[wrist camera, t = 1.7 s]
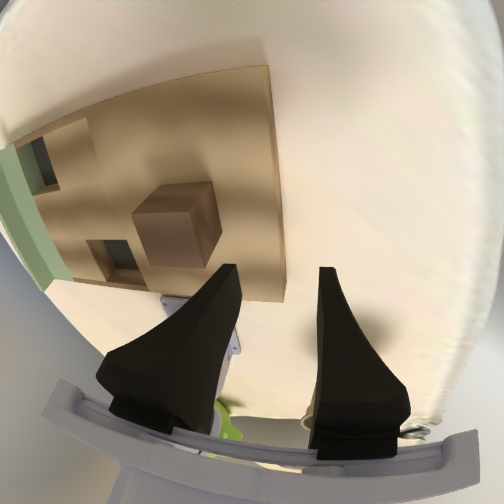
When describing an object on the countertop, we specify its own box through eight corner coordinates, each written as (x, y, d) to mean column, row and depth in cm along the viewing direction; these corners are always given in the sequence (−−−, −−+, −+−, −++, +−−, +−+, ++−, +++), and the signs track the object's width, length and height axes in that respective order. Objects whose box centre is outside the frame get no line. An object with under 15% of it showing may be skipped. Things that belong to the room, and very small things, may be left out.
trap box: (286, 282, 26) (279, 326, 22) (60, 265, 32) (40, 290, 29) (268, 65, 15) (252, 66, 11) (9, 145, 22) (-22, 164, 18)
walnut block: (222, 232, 20) (204, 268, 17) (173, 232, 21) (150, 265, 18) (212, 181, 18) (189, 211, 15) (159, 185, 19) (130, 214, 16)
